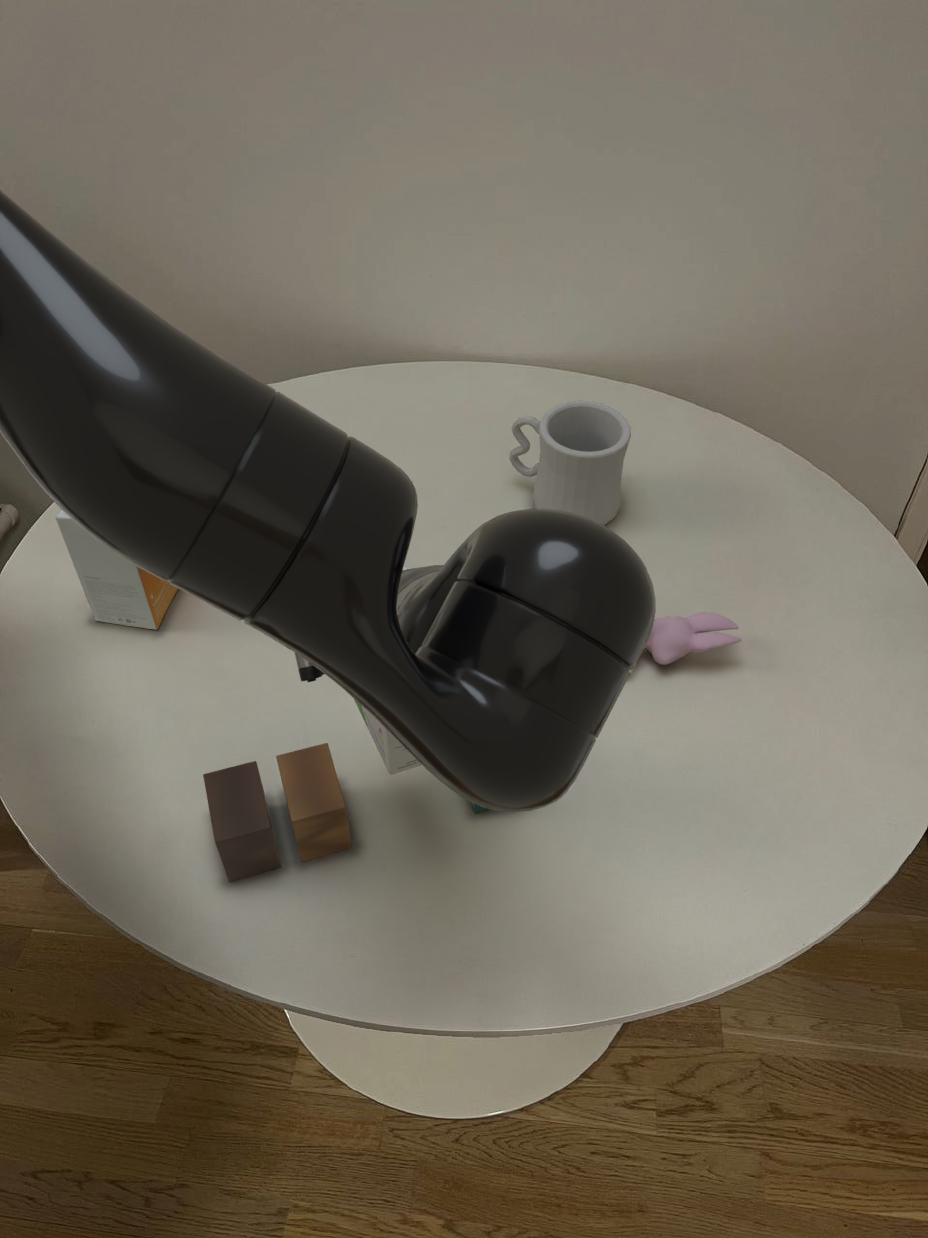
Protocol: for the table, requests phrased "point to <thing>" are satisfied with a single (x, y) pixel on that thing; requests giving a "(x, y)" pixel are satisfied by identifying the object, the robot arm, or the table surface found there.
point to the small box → (115, 581)
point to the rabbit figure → (688, 635)
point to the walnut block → (241, 821)
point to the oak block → (314, 801)
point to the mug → (576, 458)
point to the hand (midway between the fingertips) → (386, 628)
